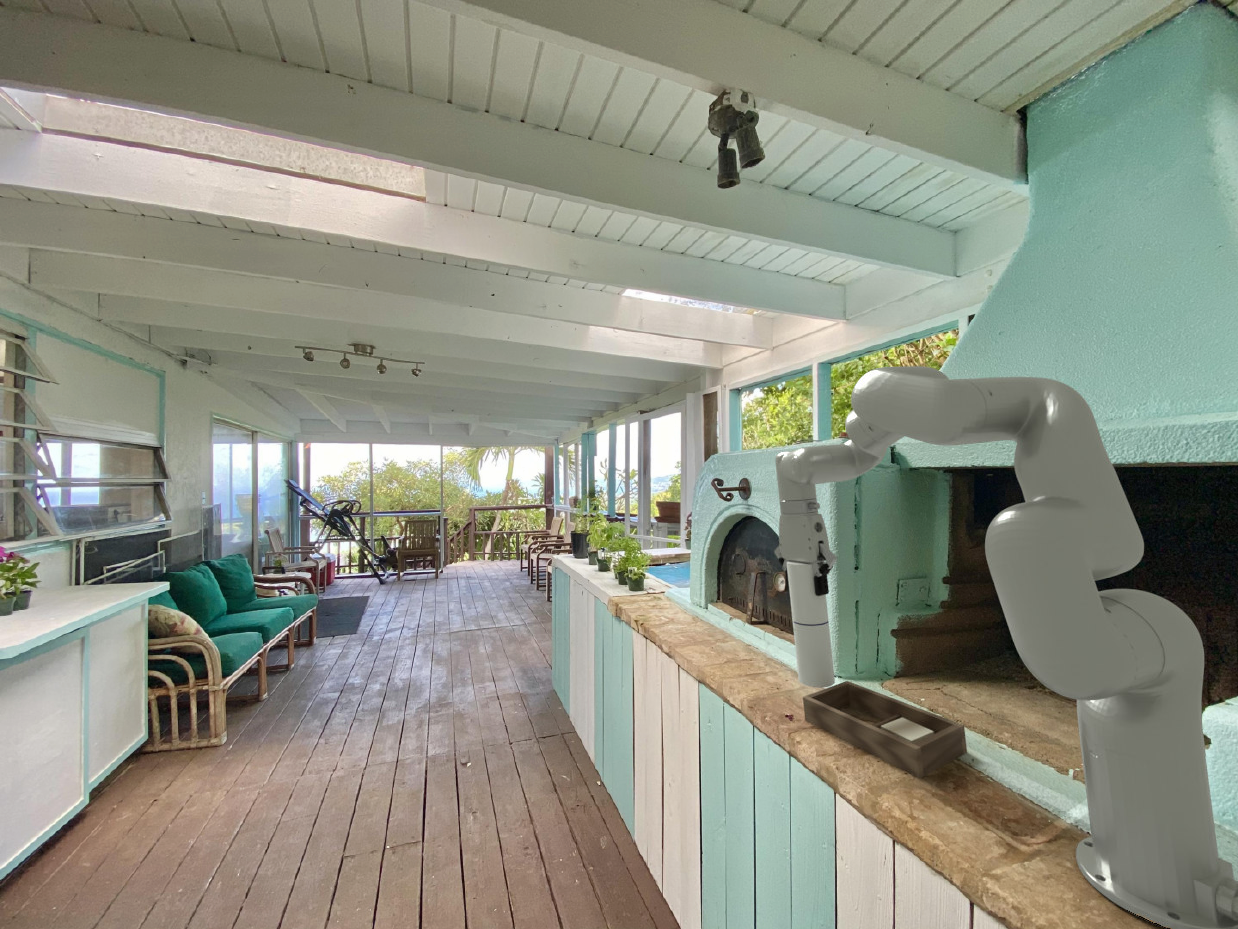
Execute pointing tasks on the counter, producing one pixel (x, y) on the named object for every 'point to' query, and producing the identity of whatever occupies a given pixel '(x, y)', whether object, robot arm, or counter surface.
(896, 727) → the offcut top
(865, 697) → the tray
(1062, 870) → the counter surface
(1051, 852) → the counter surface
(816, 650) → the cylindrical container
